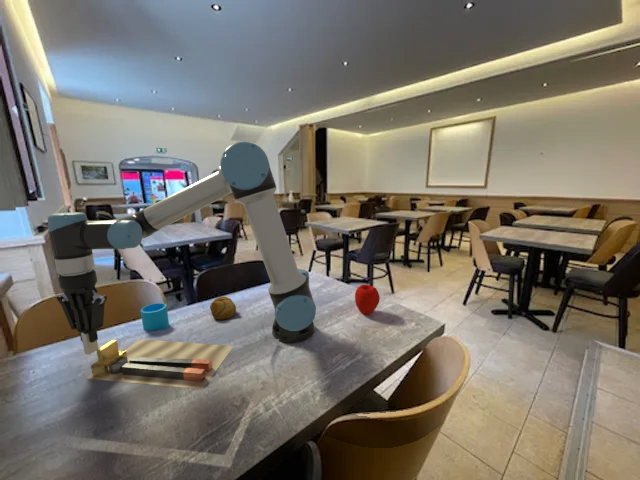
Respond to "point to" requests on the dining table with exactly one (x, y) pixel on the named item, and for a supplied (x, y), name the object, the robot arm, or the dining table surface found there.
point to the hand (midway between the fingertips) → (91, 351)
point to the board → (174, 352)
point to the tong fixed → (156, 371)
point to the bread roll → (222, 308)
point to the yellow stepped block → (106, 358)
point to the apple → (366, 299)
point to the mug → (155, 317)
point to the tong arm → (174, 362)
